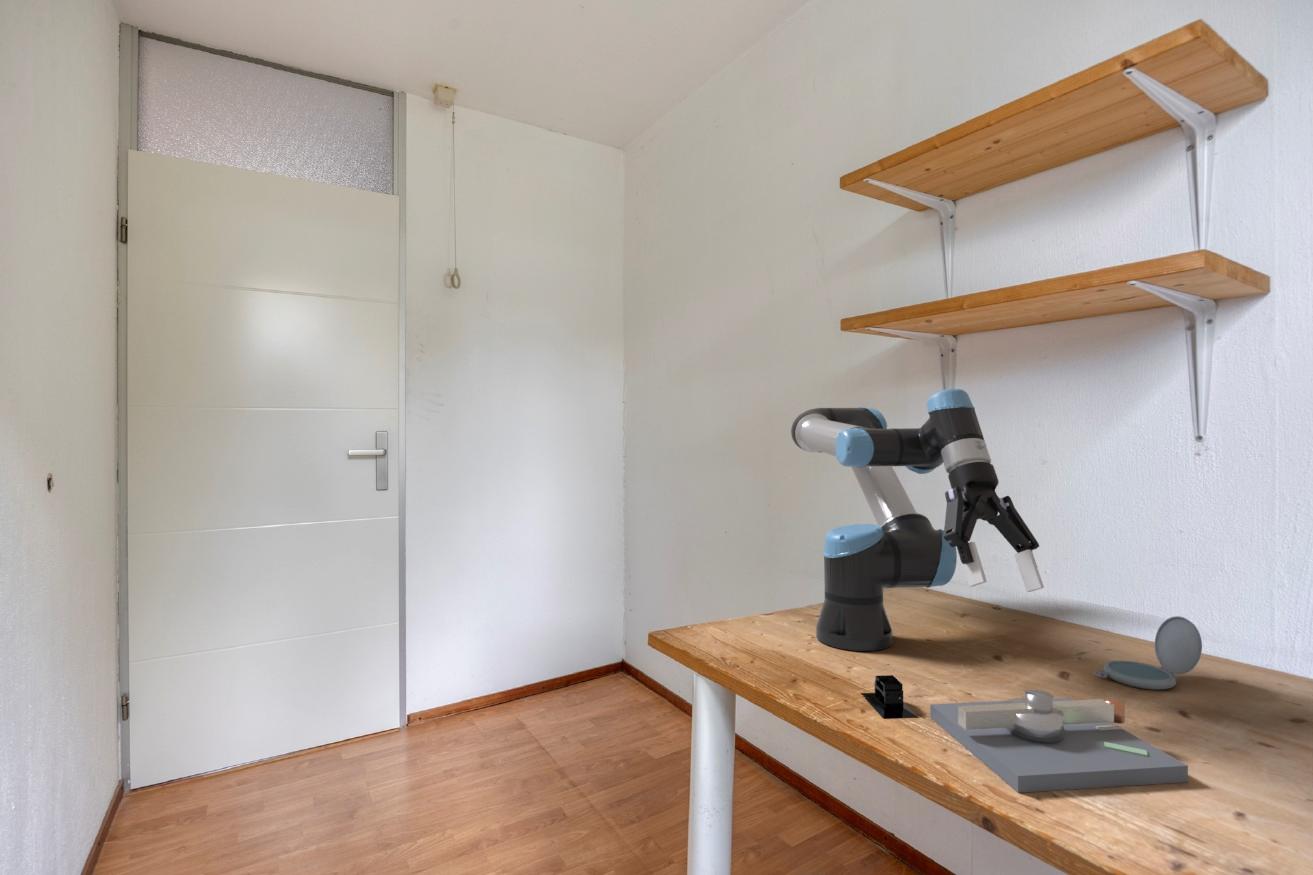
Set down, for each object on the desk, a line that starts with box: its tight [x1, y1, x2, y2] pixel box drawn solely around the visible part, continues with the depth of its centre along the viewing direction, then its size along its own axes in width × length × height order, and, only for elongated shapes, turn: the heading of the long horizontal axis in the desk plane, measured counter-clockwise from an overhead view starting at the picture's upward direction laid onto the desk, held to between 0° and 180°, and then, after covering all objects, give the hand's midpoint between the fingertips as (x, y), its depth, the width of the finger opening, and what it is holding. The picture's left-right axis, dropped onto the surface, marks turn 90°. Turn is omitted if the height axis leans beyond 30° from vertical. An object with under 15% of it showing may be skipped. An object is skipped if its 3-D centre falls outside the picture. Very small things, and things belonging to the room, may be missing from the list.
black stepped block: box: [860, 674, 920, 720], centre depth 100 cm, size 12×7×5 cm, turn 2°
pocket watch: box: [1093, 615, 1203, 691], centre depth 109 cm, size 10×11×15 cm
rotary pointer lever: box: [958, 688, 1126, 742], centre depth 86 cm, size 7×23×5 cm, turn 95°
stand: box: [929, 697, 1189, 794], centre depth 86 cm, size 20×22×2 cm
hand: (1007, 587), depth 103 cm, fingers open, 13 cm apart
